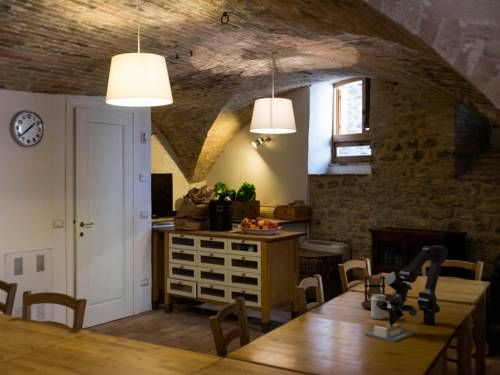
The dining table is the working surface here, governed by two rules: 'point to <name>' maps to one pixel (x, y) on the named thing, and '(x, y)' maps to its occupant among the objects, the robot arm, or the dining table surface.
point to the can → (375, 310)
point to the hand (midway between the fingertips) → (390, 324)
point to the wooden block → (390, 326)
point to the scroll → (373, 288)
